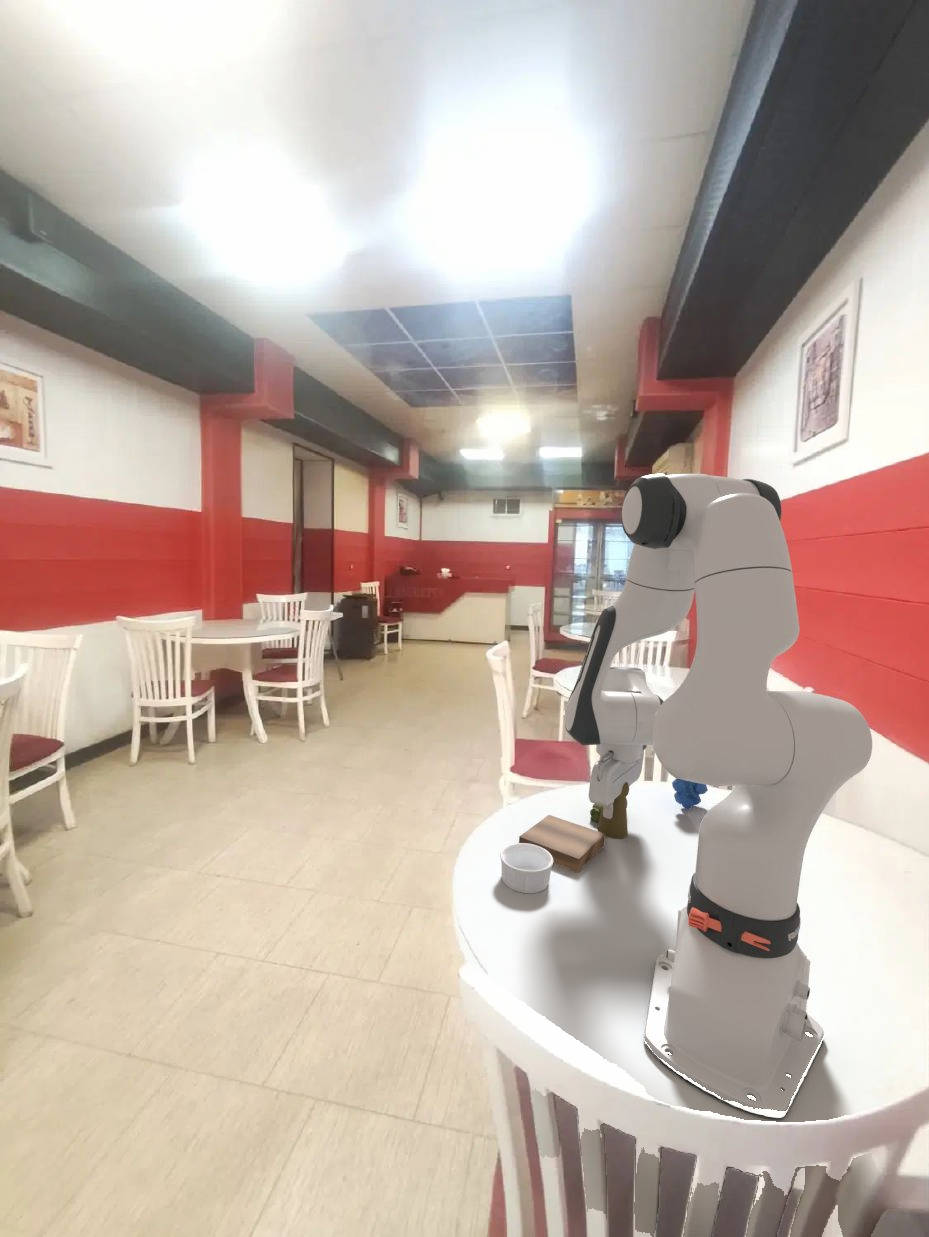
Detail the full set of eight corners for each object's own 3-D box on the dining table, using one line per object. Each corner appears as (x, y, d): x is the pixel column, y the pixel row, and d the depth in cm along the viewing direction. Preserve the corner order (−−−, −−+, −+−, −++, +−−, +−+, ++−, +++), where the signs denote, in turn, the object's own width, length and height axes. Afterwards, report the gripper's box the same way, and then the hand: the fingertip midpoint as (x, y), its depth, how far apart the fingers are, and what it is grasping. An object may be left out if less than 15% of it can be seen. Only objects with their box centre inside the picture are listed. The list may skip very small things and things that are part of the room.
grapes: (690, 822, 116) (695, 768, 115) (662, 810, 121) (667, 758, 120) (719, 810, 123) (723, 759, 122) (691, 799, 128) (695, 750, 127)
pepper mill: (624, 825, 113) (628, 774, 112) (630, 840, 107) (634, 786, 106) (595, 823, 114) (599, 772, 113) (599, 837, 108) (603, 783, 107)
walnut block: (578, 872, 94) (579, 859, 94) (518, 849, 101) (519, 836, 101) (604, 846, 104) (605, 833, 104) (548, 826, 111) (548, 814, 111)
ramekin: (560, 893, 88) (562, 867, 88) (509, 899, 86) (511, 873, 85) (538, 863, 97) (540, 840, 96) (491, 869, 94) (493, 845, 94)
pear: (632, 791, 117) (605, 810, 111) (632, 813, 119) (606, 833, 112) (610, 782, 122) (583, 800, 115) (610, 803, 123) (584, 822, 116)
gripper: (615, 763, 98) (609, 835, 100) (650, 737, 115) (645, 800, 116) (583, 754, 102) (578, 825, 103) (621, 731, 119) (616, 792, 120)
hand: (613, 811), depth 110 cm, fingers closed on pepper mill, 5 cm apart
